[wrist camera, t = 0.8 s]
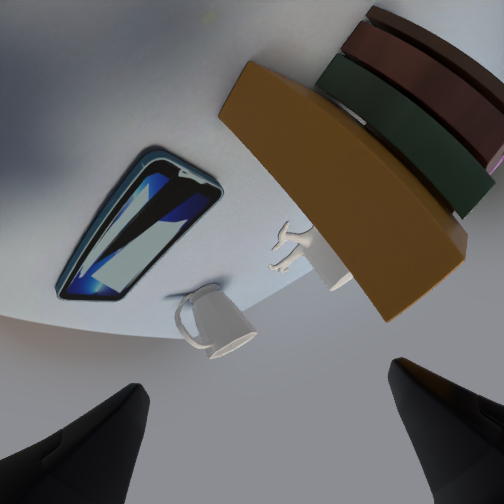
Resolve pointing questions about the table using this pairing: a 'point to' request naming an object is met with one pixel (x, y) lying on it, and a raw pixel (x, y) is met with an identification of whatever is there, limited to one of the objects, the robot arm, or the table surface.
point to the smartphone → (138, 228)
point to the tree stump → (314, 257)
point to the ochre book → (348, 188)
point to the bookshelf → (424, 105)
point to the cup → (216, 322)
